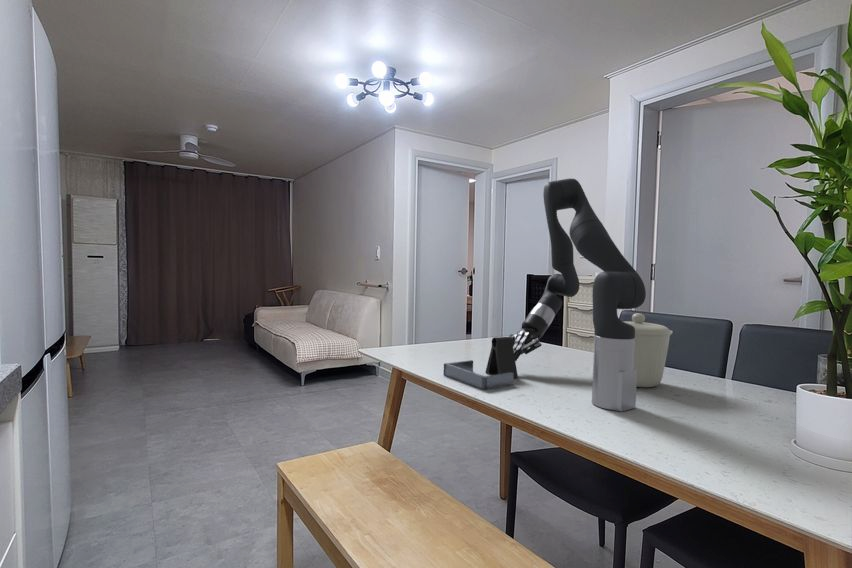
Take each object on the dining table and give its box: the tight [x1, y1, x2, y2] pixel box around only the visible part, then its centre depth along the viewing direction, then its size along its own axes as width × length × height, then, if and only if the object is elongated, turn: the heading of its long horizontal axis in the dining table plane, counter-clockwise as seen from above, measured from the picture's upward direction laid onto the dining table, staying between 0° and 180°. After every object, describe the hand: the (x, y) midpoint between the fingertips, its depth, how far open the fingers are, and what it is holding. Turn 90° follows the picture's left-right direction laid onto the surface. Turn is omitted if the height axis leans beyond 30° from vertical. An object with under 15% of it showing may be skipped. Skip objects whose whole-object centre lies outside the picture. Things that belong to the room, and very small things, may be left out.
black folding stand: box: [485, 336, 519, 379], centre depth 134 cm, size 9×6×12 cm, turn 24°
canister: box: [623, 312, 673, 388], centre depth 129 cm, size 18×18×21 cm
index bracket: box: [443, 359, 514, 391], centre depth 129 cm, size 19×11×4 cm, turn 34°
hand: (510, 360), depth 136 cm, fingers closed
